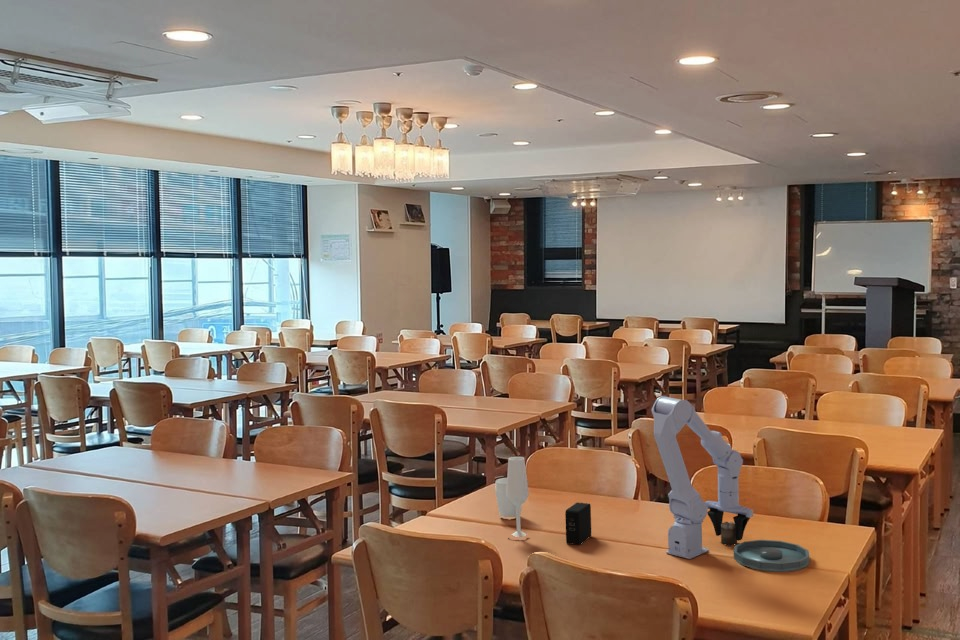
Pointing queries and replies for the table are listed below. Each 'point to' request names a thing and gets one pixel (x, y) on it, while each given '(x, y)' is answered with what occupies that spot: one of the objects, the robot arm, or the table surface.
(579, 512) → the electronic device
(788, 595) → the table surface
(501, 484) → the cup
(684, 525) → the robot arm
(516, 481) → the champagne flute
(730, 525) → the brown ball-rimmed cylinder
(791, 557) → the round groove tray
